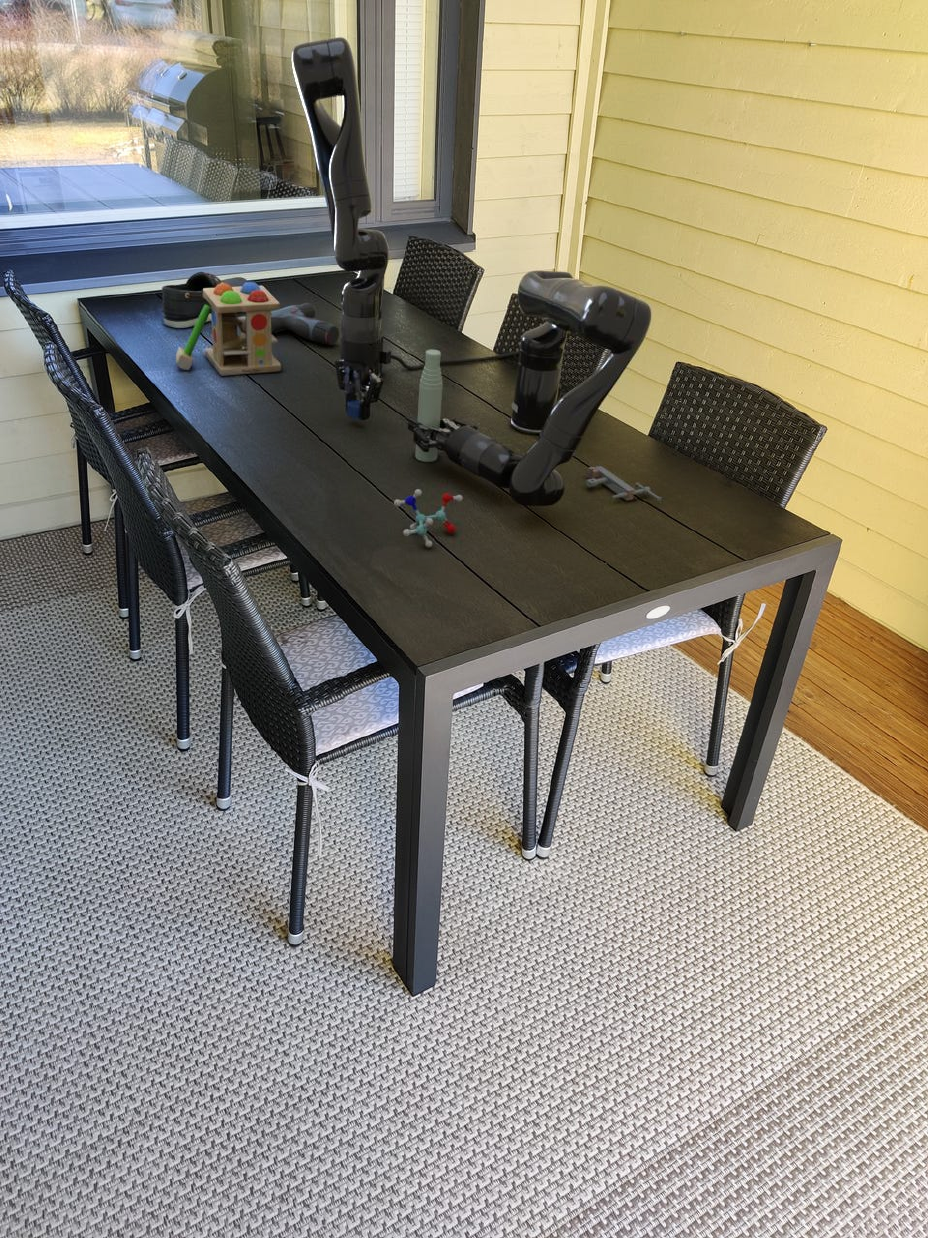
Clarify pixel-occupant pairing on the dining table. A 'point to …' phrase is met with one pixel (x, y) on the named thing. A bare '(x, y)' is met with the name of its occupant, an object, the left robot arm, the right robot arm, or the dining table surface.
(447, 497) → the molecular model
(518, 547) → the dining table surface
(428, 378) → the bottle
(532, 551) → the dining table surface
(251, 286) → the pounding bench toy
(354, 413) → the cap
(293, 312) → the power drill
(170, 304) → the boat shoe
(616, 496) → the clamp
